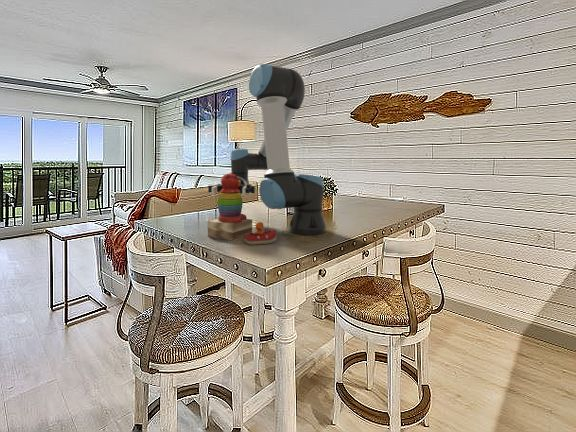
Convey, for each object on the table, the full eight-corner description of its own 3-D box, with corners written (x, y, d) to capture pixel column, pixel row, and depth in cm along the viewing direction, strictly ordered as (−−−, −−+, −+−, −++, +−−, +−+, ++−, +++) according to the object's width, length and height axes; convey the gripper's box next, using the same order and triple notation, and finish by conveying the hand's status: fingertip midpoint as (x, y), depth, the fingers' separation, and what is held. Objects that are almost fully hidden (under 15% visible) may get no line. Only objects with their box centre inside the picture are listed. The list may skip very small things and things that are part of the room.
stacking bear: (239, 223, 132) (239, 174, 129) (213, 222, 133) (212, 173, 130) (247, 218, 142) (247, 172, 139) (223, 217, 144) (222, 172, 141)
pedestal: (252, 234, 141) (252, 219, 140) (232, 240, 131) (232, 224, 130) (228, 231, 147) (228, 216, 146) (207, 236, 137) (207, 221, 136)
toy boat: (279, 244, 128) (279, 223, 126) (247, 246, 124) (247, 224, 122) (272, 239, 135) (272, 219, 133) (241, 241, 131) (241, 221, 129)
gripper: (263, 195, 154) (259, 202, 133) (209, 194, 154) (196, 201, 132) (263, 177, 153) (259, 181, 131) (209, 176, 153) (196, 180, 131)
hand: (228, 191), depth 132 cm, fingers open, 11 cm apart
